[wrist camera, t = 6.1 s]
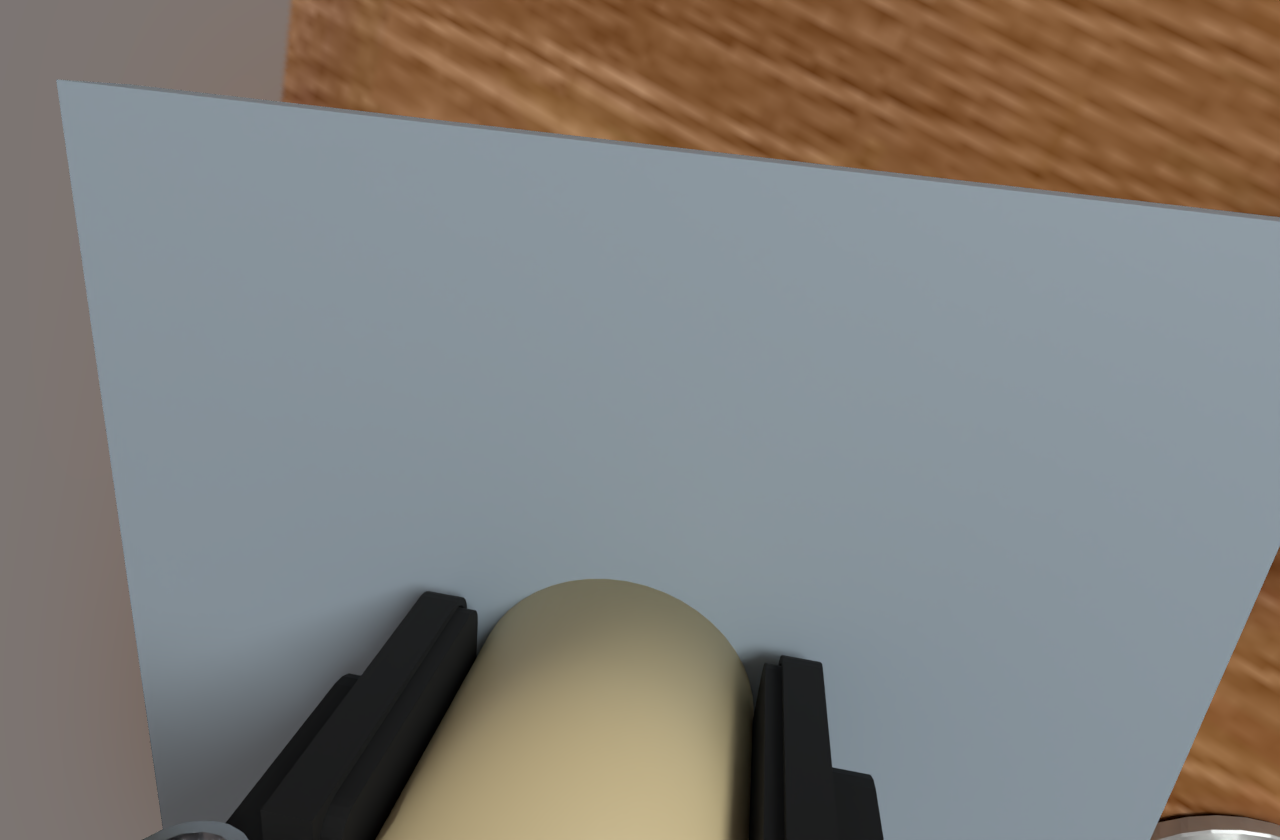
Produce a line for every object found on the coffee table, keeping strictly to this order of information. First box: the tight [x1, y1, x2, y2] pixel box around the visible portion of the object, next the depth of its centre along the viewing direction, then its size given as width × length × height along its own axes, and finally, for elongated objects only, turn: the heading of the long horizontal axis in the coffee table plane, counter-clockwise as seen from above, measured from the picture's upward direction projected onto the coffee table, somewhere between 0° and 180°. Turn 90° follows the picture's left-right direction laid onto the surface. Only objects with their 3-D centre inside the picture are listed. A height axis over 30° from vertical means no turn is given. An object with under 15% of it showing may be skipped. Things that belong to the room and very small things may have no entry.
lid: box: [57, 80, 1280, 840], centre depth 10 cm, size 15×15×6 cm
